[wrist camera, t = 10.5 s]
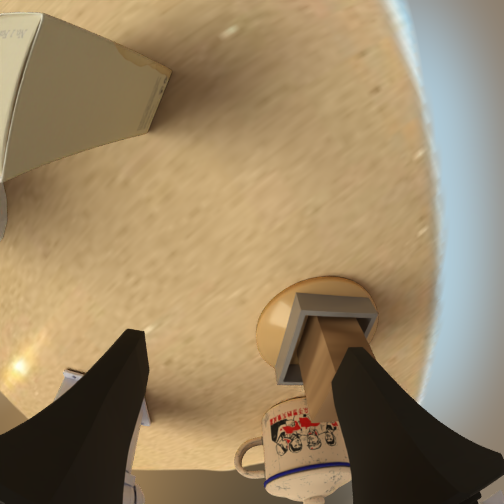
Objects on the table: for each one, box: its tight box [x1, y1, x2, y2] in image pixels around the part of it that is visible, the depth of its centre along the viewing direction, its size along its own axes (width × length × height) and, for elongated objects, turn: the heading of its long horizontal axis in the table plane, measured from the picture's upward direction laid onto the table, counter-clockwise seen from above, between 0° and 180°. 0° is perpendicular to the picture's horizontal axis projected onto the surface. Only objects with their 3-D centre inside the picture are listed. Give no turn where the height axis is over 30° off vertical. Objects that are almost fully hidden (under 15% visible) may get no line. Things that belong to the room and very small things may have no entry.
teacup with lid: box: [234, 397, 352, 504], centre depth 24 cm, size 12×9×12 cm
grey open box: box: [256, 276, 378, 385], centre depth 21 cm, size 10×10×3 cm
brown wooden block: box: [296, 315, 376, 423], centre depth 19 cm, size 3×5×7 cm, turn 172°
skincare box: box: [0, 12, 172, 183], centre depth 9 cm, size 6×4×12 cm
